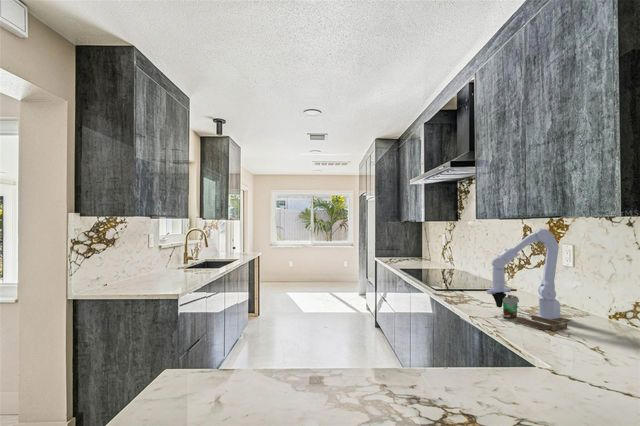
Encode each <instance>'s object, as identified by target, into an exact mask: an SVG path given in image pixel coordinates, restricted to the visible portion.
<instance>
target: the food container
mask: <svg viewBox="0 0 640 426" xmlns="http://www.w3.org/2000/svg"><path fill="white" fill-rule="evenodd" d="M518 297H519V296H517V295H512V294H507V296H506V297H505V298H503V304H502V311H503V319H509V320H510V319H512V320H513V319H517V317H518V305H519V304H518V303H519V302H520V300H519V298H518Z"/></svg>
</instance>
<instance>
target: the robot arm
mask: <svg viewBox="0 0 640 426" xmlns="http://www.w3.org/2000/svg"><path fill="white" fill-rule="evenodd" d="M538 242H540V243H541V244H542V245H543V246H544V247H545V248H546V253H545V260H544V268H543V276H542V280H541V282H540V286H538V289H537V292H538V295H540V296H539V297H538V314H534V315H535V316H539V317H543V318H547V319H551V320H555V319H556V320H557V319H561V318H563V316H561V303H560V301H559V300H558V299H556V297H557V291H556V285H555V280H556V279H555V278H556V273H557V272H556V269H557V263H558V257H559V256H558V255H559V247H560V246H559V243H558V242H557V240H556V238H555V235H554V234H553V232H552V231H549V230H548V229H546V228H537V229H536V230H535V231H532V232H531V233H529V234H528V235H526V237H524V238H523V239H522V240H521V241H520V242H519V243H517V244H516V245H515V246H513V247H508V248H505V249H504V251H503V252H501V253H500V254H497V255H496V257H494V258H493V259H492V261H491V266H492V288H490V289H487V290H486V294H487V295H491V296H492V297H493V299H494V301H495V305H496V307H497V308H503V298H506V297H507V293H511V288H509V287H506V282H505V281H506V279H505V278H506V277H505V274H506V273H505V267H506V265H507V264H509V263H511V262H512V261H513V260H515V259H516V258H517V257H518V253H519V252H521V251H522V250H523V249H525V248H526V247H528V246H529V245H530V244H533V243H538Z"/></svg>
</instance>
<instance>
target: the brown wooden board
mask: <svg viewBox="0 0 640 426" xmlns="http://www.w3.org/2000/svg"><path fill="white" fill-rule="evenodd" d="M535 315H536V314H531V316H530V317H531V320H530V319H528V318H523V317H519V316H517V318H516V323H521V324H525V325H528V326H532V327H535V328H537V329H538V328H539V329H543V330H547V331H556V330H562V329H563V330H564V329H567V328H568V322H563V321H558V320H555V319H547V318H543V317H539V316H535Z"/></svg>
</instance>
